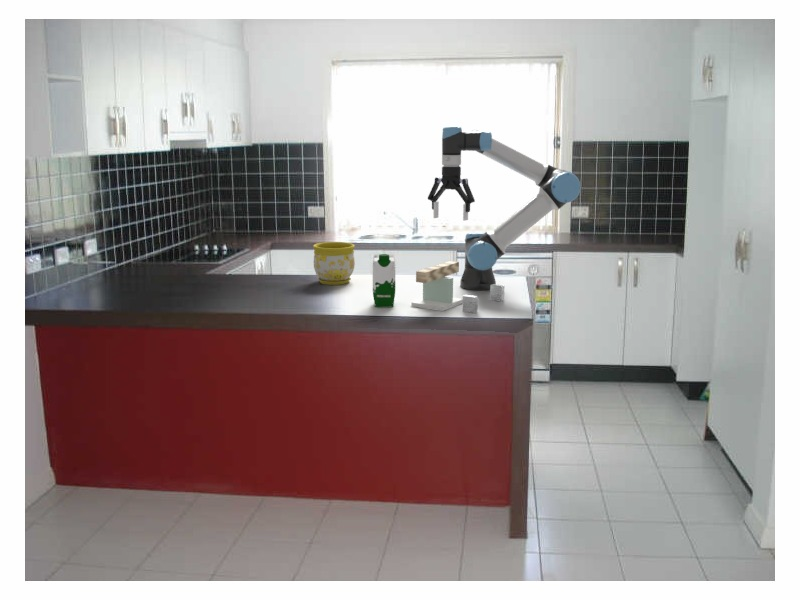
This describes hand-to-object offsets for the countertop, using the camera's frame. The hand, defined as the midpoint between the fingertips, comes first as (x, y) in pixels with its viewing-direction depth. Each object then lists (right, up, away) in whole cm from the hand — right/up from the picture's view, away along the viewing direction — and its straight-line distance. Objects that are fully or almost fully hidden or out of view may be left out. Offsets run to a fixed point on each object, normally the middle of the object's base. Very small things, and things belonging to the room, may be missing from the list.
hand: (450, 219), depth 333 cm
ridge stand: (-6, -34, -13) cm, 37 cm away
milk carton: (-27, -35, -13) cm, 46 cm away
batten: (-6, -24, -15) cm, 29 cm away
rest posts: (+12, -35, -14) cm, 40 cm away
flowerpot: (-49, -25, +28) cm, 62 cm away
